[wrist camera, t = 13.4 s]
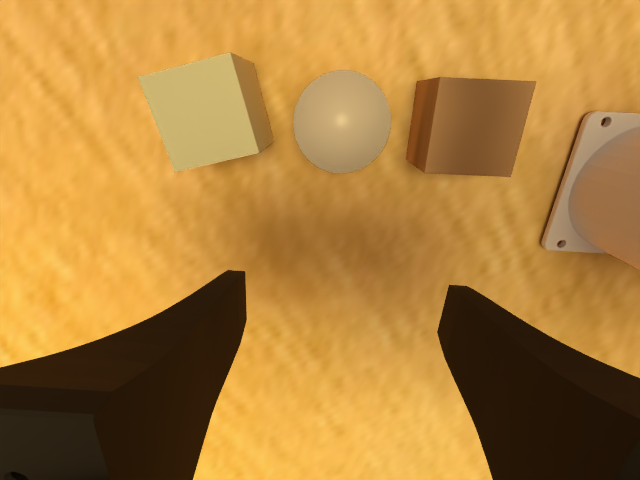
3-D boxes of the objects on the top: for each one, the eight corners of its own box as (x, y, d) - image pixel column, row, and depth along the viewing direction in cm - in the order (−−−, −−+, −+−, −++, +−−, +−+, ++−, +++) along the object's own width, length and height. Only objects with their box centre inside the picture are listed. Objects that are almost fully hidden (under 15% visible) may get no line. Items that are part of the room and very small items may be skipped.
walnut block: (492, 84, 17) (536, 81, 14) (475, 161, 19) (510, 177, 15) (416, 81, 17) (440, 77, 14) (405, 158, 19) (424, 173, 15)
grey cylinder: (379, 79, 17) (397, 72, 13) (370, 156, 19) (384, 175, 14) (302, 75, 17) (293, 67, 13) (301, 153, 19) (292, 171, 14)
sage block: (253, 63, 17) (230, 52, 13) (274, 141, 19) (259, 153, 15) (182, 82, 18) (137, 77, 14) (208, 156, 19) (175, 172, 15)
